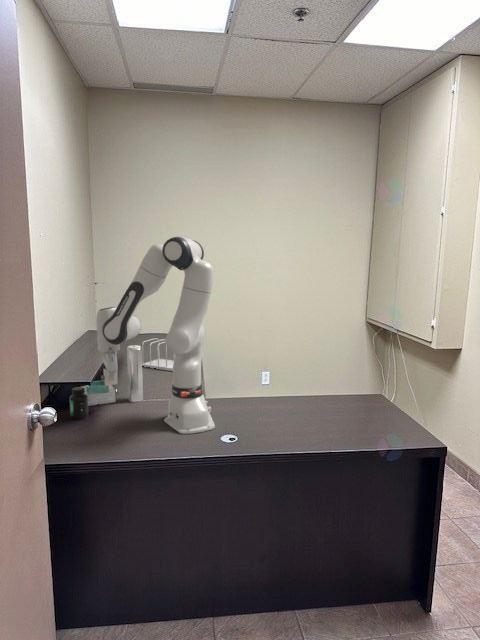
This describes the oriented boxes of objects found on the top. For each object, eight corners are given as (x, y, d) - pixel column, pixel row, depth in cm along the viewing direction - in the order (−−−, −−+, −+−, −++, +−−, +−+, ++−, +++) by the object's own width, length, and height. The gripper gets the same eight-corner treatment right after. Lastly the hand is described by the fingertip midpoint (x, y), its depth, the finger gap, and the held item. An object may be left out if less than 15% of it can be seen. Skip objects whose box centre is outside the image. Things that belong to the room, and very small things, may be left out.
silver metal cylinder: (139, 402, 185) (137, 347, 182) (126, 401, 187) (124, 347, 183) (145, 398, 192) (144, 345, 188) (132, 397, 193) (130, 344, 190)
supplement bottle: (70, 421, 163) (69, 392, 162) (69, 415, 170) (68, 387, 168) (89, 418, 166) (87, 389, 165) (87, 413, 173) (86, 385, 171)
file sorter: (192, 365, 252) (191, 340, 250) (175, 372, 237) (174, 345, 235) (158, 361, 263) (158, 337, 261) (140, 367, 248) (140, 341, 246)
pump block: (118, 384, 173) (117, 370, 172) (102, 386, 171) (101, 371, 170) (116, 381, 178) (115, 367, 177) (101, 382, 175) (100, 369, 174)
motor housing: (120, 401, 186) (119, 385, 185) (82, 406, 180) (81, 389, 179) (115, 392, 199) (115, 377, 198) (80, 397, 193) (79, 381, 192)
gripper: (120, 349, 164) (122, 383, 166) (113, 341, 183) (115, 371, 185) (103, 351, 162) (105, 385, 164) (98, 342, 180) (100, 373, 182)
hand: (110, 378), depth 174 cm, fingers closed on pump block, 5 cm apart
